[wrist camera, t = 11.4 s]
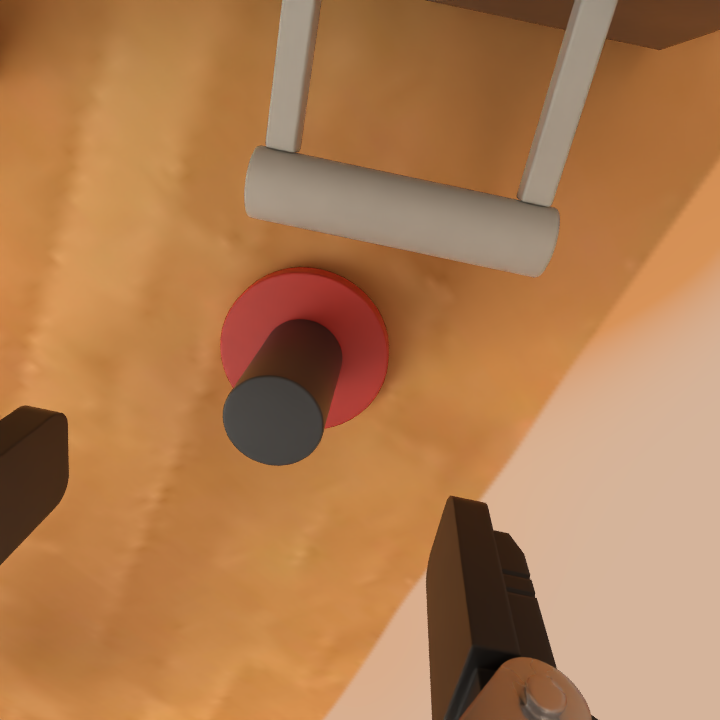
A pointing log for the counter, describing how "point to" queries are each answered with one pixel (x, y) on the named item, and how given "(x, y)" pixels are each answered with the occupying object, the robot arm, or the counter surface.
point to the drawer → (435, 200)
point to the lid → (299, 362)
